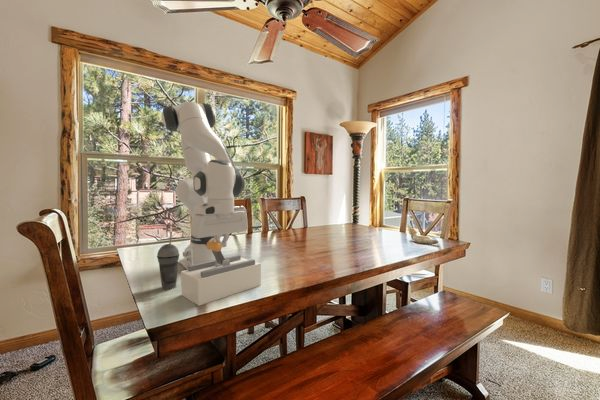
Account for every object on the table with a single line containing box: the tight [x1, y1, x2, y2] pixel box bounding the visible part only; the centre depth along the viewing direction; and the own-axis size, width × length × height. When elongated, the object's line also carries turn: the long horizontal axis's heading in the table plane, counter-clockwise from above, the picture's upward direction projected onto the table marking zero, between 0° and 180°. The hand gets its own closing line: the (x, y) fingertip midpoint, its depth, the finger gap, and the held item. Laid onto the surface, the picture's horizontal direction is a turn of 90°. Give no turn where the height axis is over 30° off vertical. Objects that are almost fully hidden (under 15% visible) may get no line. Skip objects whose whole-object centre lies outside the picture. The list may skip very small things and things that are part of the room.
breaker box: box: [180, 257, 262, 307], centre depth 99 cm, size 12×24×11 cm, turn 136°
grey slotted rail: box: [187, 254, 256, 278], centre depth 99 cm, size 11×20×2 cm, turn 136°
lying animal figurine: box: [407, 224, 439, 245], centre depth 177 cm, size 9×21×10 cm, turn 31°
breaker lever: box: [206, 241, 225, 265], centre depth 97 cm, size 5×3×8 cm, turn 46°
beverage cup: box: [156, 231, 180, 290], centre depth 101 cm, size 7×7×20 cm
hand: (221, 247), depth 98 cm, fingers closed
